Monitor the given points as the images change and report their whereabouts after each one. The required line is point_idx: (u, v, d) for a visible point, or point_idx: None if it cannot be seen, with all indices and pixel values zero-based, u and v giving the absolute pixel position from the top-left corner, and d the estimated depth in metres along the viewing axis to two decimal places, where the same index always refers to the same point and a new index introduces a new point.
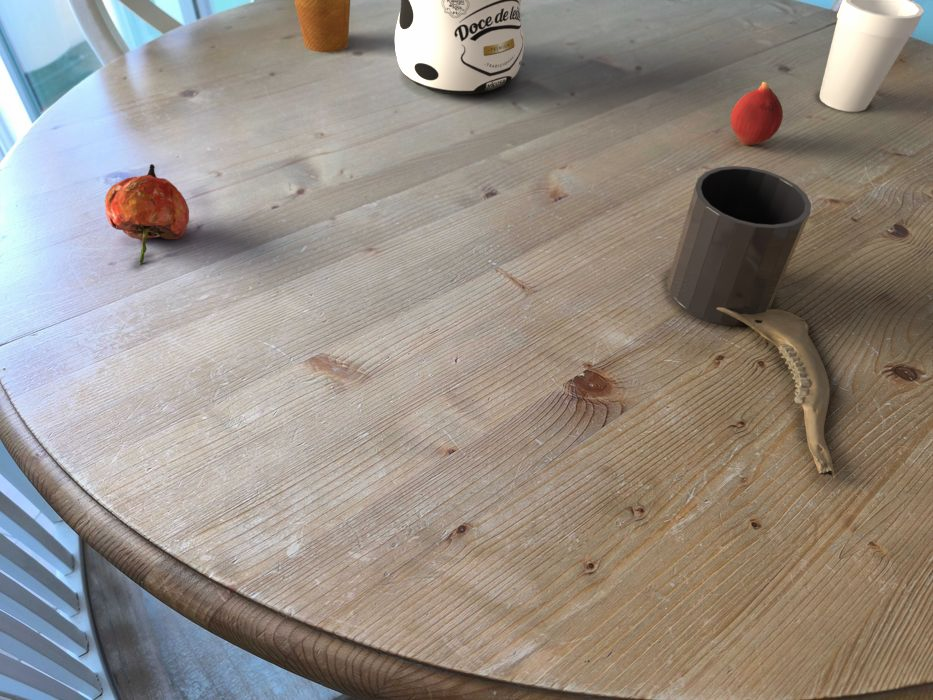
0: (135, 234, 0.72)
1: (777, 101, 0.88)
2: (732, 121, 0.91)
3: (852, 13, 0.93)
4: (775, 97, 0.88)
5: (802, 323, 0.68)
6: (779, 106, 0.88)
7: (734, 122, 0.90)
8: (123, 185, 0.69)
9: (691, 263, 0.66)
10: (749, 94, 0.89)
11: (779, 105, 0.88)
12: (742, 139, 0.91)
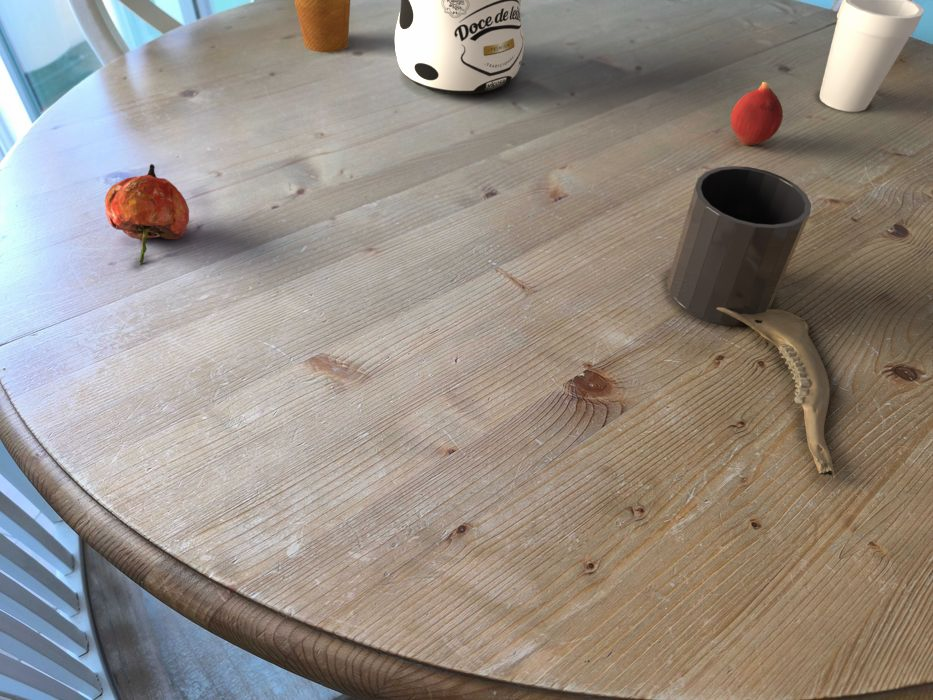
0: (135, 234, 0.72)
1: (777, 101, 0.88)
2: (732, 121, 0.91)
3: (852, 13, 0.93)
4: (775, 97, 0.88)
5: (802, 323, 0.68)
6: (779, 106, 0.88)
7: (734, 122, 0.90)
8: (123, 185, 0.69)
9: (691, 263, 0.66)
10: (749, 94, 0.89)
11: (779, 105, 0.88)
12: (742, 139, 0.91)
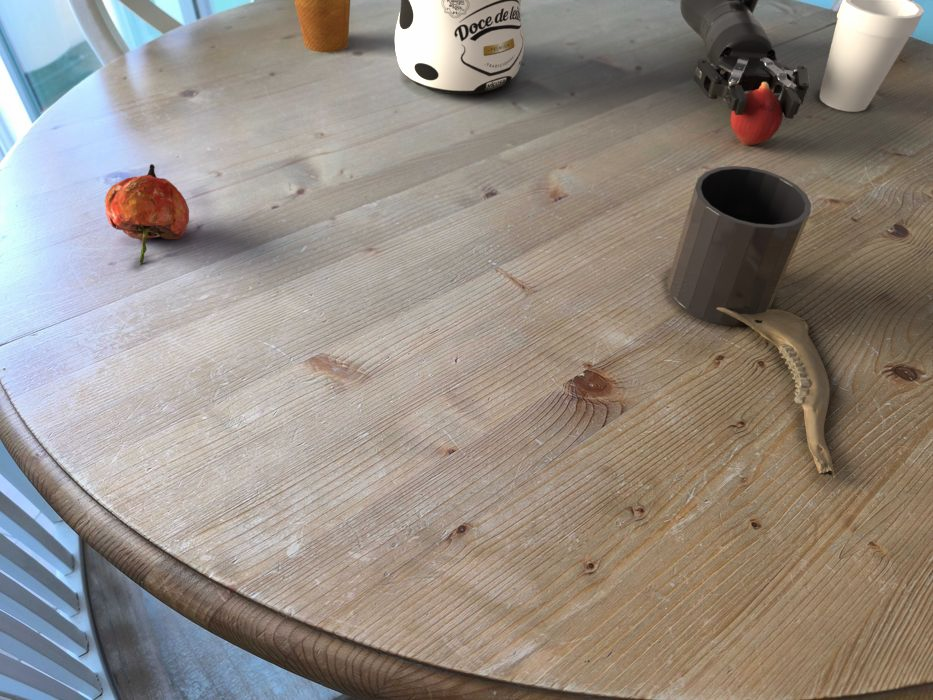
0: (135, 234, 0.72)
1: (777, 101, 0.88)
2: (732, 121, 0.91)
3: (852, 13, 0.93)
4: (775, 97, 0.88)
5: (802, 323, 0.68)
6: (779, 106, 0.88)
7: (734, 122, 0.90)
8: (123, 185, 0.69)
9: (691, 263, 0.66)
10: (749, 94, 0.89)
11: (779, 105, 0.88)
12: (742, 139, 0.91)
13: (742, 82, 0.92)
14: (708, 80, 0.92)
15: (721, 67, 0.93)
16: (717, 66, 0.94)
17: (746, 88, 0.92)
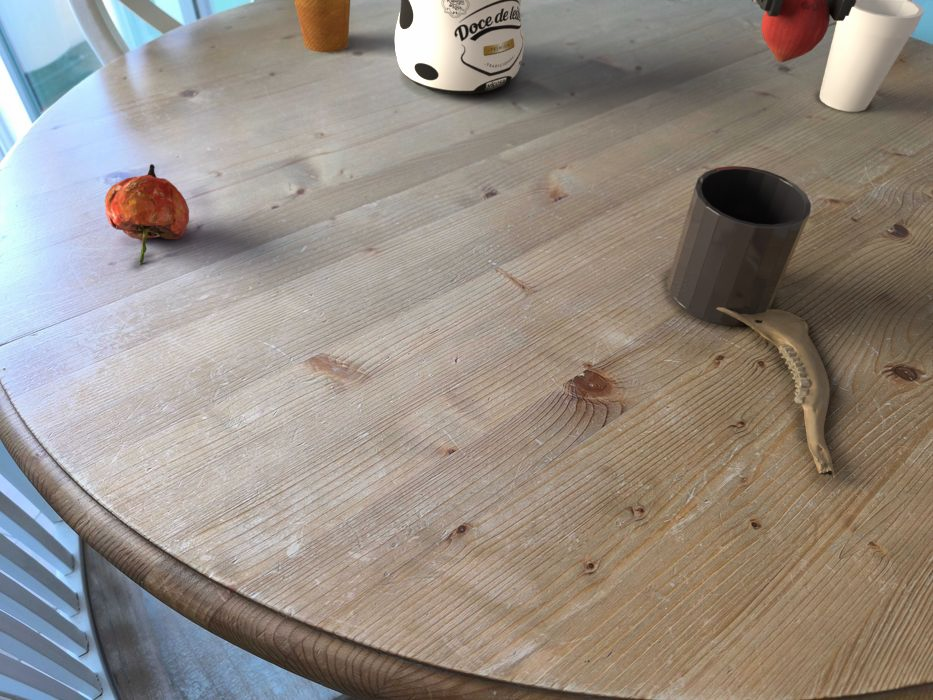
0: (135, 234, 0.72)
1: None
2: (764, 28, 0.71)
3: (852, 13, 0.93)
4: None
5: (802, 323, 0.68)
6: (826, 5, 0.68)
7: (767, 29, 0.70)
8: (123, 185, 0.69)
9: (691, 263, 0.66)
10: None
11: (826, 4, 0.68)
12: (776, 51, 0.71)
13: None
14: None
15: None
16: None
17: None
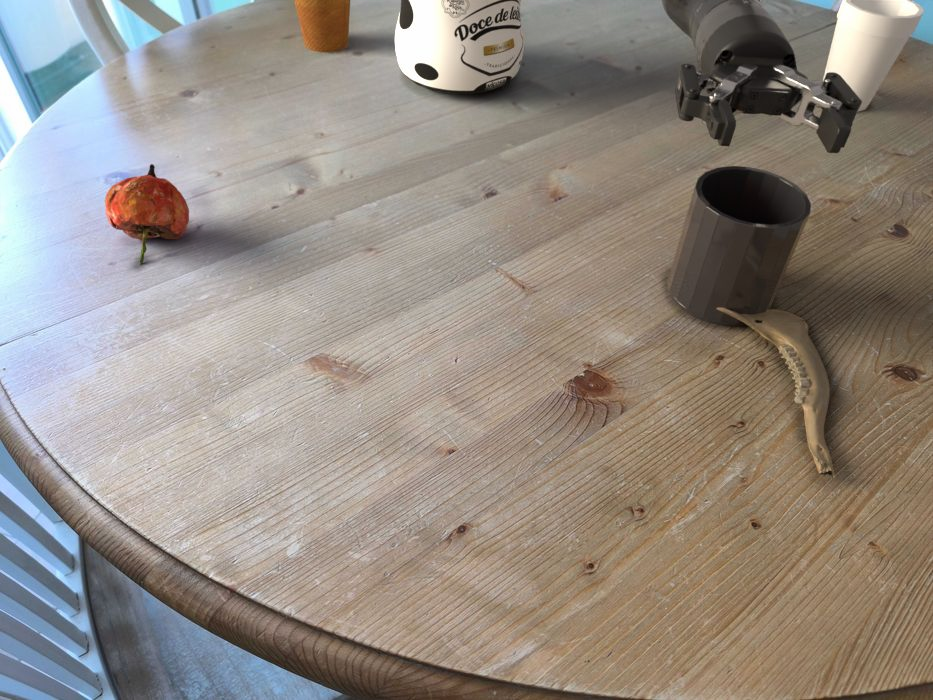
0: (135, 234, 0.72)
1: None
2: None
3: (852, 13, 0.93)
4: None
5: (802, 323, 0.68)
6: None
7: None
8: (123, 185, 0.69)
9: (691, 263, 0.66)
10: None
11: None
12: None
13: (747, 101, 0.63)
14: None
15: (717, 79, 0.64)
16: (711, 78, 0.65)
17: (753, 110, 0.63)
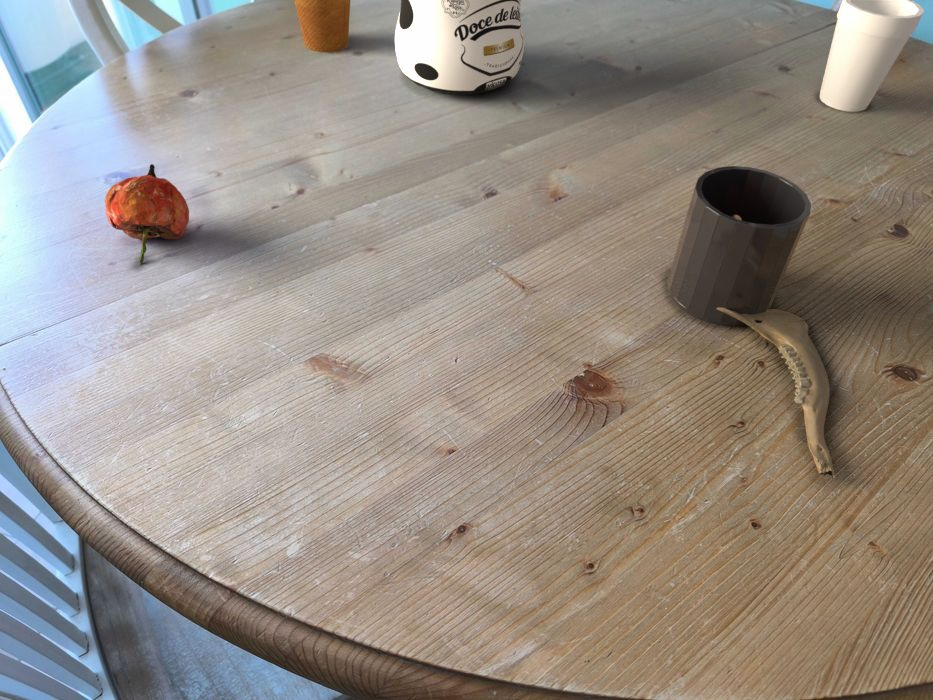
0: (135, 234, 0.72)
1: None
2: None
3: (852, 13, 0.93)
4: None
5: (802, 323, 0.68)
6: None
7: None
8: (123, 185, 0.69)
9: (691, 263, 0.66)
10: None
11: None
12: None
13: None
14: None
15: None
16: None
17: None
